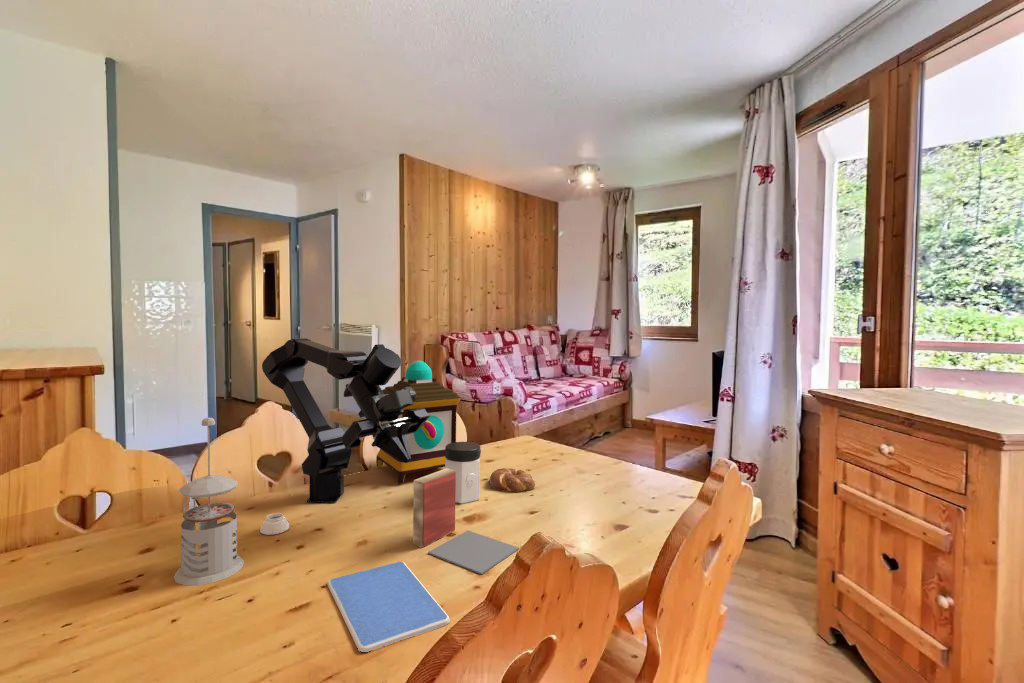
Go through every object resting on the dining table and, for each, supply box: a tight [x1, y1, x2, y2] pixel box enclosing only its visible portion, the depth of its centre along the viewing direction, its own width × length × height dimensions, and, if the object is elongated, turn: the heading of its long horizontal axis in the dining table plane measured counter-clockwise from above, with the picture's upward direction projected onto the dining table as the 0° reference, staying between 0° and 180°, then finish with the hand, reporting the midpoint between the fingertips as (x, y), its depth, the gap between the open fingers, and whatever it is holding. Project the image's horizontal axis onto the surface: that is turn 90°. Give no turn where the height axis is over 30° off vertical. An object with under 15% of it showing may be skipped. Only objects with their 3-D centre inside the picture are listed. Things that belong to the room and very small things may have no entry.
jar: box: [444, 441, 482, 504], centre depth 114 cm, size 9×8×12 cm
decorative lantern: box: [375, 360, 461, 485], centre depth 132 cm, size 20×20×30 cm
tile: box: [412, 468, 456, 549], centre depth 93 cm, size 2×9×12 cm, turn 146°
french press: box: [173, 417, 245, 586], centre depth 80 cm, size 10×12×25 cm
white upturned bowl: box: [259, 512, 290, 536], centre depth 95 cm, size 5×3×5 cm
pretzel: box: [489, 467, 536, 493], centre depth 123 cm, size 12×11×4 cm
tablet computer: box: [327, 561, 451, 652], centre depth 72 cm, size 19×13×1 cm, turn 32°
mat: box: [427, 530, 520, 575], centre depth 88 cm, size 12×11×1 cm
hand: (408, 461), depth 97 cm, fingers closed
